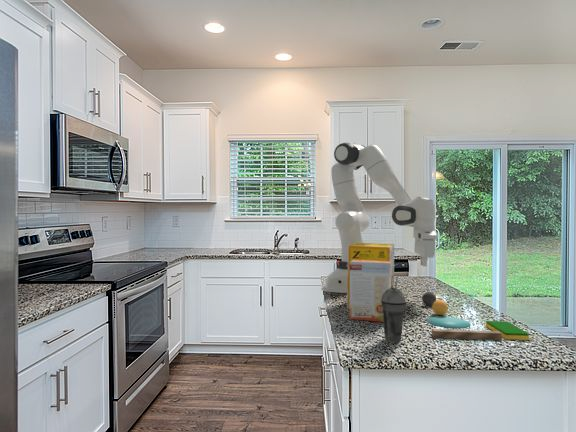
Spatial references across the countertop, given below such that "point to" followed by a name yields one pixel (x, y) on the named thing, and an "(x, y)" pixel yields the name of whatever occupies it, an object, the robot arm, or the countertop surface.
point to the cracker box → (368, 288)
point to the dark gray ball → (428, 298)
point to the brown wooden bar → (466, 334)
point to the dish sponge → (508, 330)
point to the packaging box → (370, 258)
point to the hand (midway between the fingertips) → (423, 265)
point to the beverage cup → (393, 313)
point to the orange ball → (440, 307)
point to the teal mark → (448, 322)
